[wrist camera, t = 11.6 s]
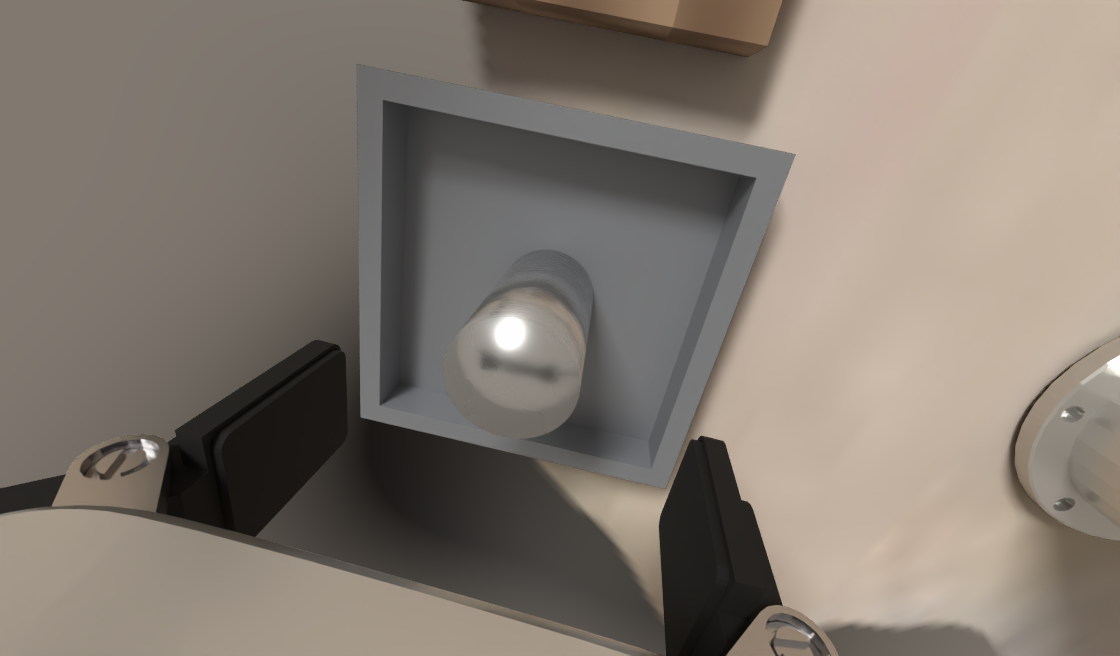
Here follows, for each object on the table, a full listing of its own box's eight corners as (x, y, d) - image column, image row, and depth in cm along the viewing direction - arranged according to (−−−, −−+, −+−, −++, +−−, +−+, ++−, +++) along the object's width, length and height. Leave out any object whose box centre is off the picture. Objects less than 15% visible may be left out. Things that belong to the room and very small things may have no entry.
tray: (769, 150, 18) (795, 154, 15) (660, 449, 25) (665, 489, 22) (395, 73, 19) (356, 63, 16) (388, 386, 26) (360, 417, 23)
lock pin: (602, 260, 20) (593, 334, 13) (583, 344, 22) (565, 451, 15) (508, 240, 20) (447, 303, 13) (497, 326, 22) (438, 422, 15)
